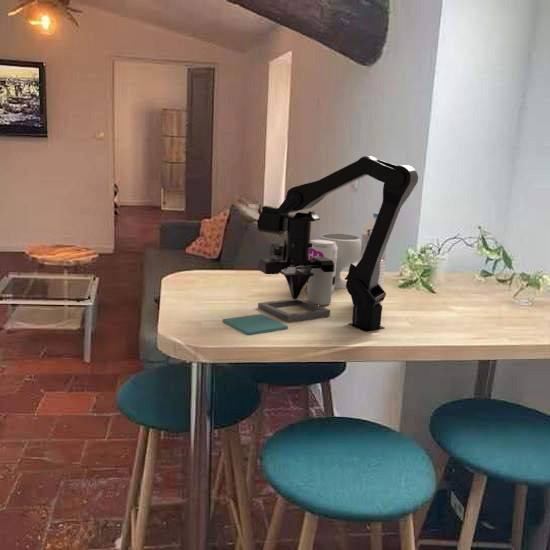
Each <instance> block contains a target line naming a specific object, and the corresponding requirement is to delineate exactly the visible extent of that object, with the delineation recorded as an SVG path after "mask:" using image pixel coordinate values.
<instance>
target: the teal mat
mask: <svg viewBox="0 0 550 550" xmlns="http://www.w3.org/2000/svg"><path fill="white" fill-rule="evenodd" d="M222 323H224V324H226V325H227V326H230V327H232V328H234V329H235V330H238V331H240V332H241V333H243V334H245V335H247V336H251V335H257V334H263V333H269V332H275V331H282V330H283V331H284V330H288V329H289V326H288V325H286V324H284V323H282V322H279V321H278V320H276V319H273V318H271V317H269V316H267V315H265V314H262V313H257V314H253V315H252V314H251V315H245V316H238V317H237V316H236V317H230V318H222Z"/></svg>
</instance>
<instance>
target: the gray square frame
mask: <svg viewBox="0 0 550 550" xmlns="http://www.w3.org/2000/svg"><path fill="white" fill-rule="evenodd" d="M257 304H258V305H257V308H258V309H259V310H261V311H263V312H265V313H267V314H269V315H270V316H273V317H276V318H277V319H279V320H282V321H284V322H287V323H294V322H300V321H307V320H312V319H319V318H326V317H330V316H331V309H329V308H325V307H324V306H318V305H316V304H313V303H311V302H308V301H307V299H302V298H301V297H298V298H297V299H292V298H288V299H279V300H271V301H264V302H258V303H257ZM295 305H296V306H299V307H303V308H304V309H306V310H307V311H302V312H294V313H288V312H286V311H284V310H281V309H280V308H282V307H289V306H295Z"/></svg>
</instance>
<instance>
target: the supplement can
mask: <svg viewBox="0 0 550 550" xmlns="http://www.w3.org/2000/svg"><path fill="white" fill-rule="evenodd" d="M310 243H312V248H309V259H310V260H311V259H312V258H313V257H325V258H328V259H330V260H332V261H333V262H334V265H335V267H334V272H333V281H332V294H333V293H335V288H334V286H335V274H336V261H337V249H338V248H337V246H336V242H335V241H331V240H323V239H319V238H318V239H312V240H311V239H310ZM308 280H309V279H308ZM304 287H305V288H304V289H305V292H306V293H308V281H307V282H306V284H305V286H304Z"/></svg>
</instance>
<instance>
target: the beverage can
mask: <svg viewBox="0 0 550 550" xmlns="http://www.w3.org/2000/svg"><path fill="white" fill-rule="evenodd" d="M311 273H313V274H314V276H310V278H309V280H308V292H307V294H306V297H307V298H306V301H308V302H311V303H313V304H316V305H319V306H321V307H324V305H325V306H328V305H329V304H331V303H332V294H333V293H332V281H333V272H323V271H322V270H321V268H312V270H311Z"/></svg>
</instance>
